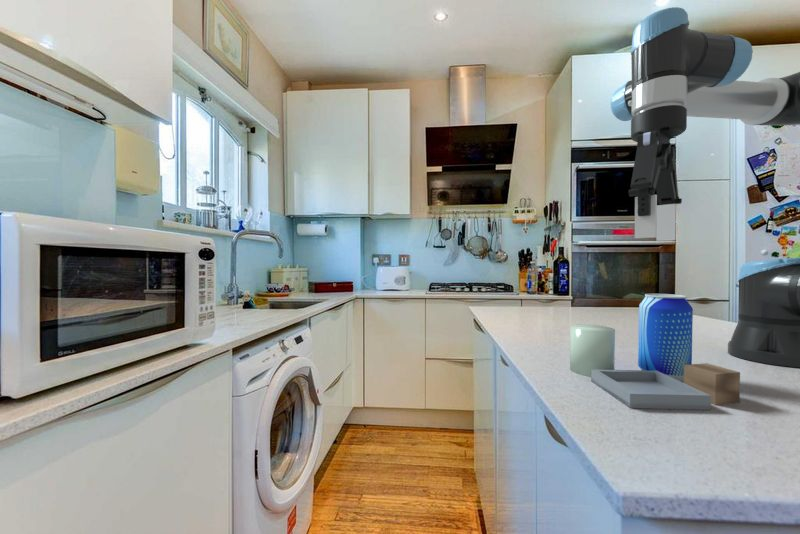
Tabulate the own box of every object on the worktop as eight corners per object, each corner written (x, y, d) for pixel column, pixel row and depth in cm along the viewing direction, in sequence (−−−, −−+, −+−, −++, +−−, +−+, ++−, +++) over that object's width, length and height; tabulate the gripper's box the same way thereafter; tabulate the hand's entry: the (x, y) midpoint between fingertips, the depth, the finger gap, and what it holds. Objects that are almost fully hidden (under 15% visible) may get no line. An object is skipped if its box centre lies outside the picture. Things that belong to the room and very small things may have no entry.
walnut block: (706, 391, 61) (706, 363, 61) (739, 403, 56) (740, 372, 56) (683, 393, 60) (683, 364, 60) (715, 405, 55) (715, 374, 55)
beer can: (672, 369, 73) (673, 293, 73) (702, 384, 65) (704, 297, 64) (629, 368, 74) (630, 292, 73) (654, 382, 65) (655, 297, 65)
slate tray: (656, 382, 65) (657, 370, 65) (710, 409, 53) (711, 395, 53) (591, 381, 66) (591, 369, 66) (629, 407, 54) (630, 393, 54)
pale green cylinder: (601, 365, 76) (601, 324, 75) (623, 378, 68) (623, 332, 67) (563, 365, 76) (564, 324, 76) (580, 377, 68) (581, 331, 68)
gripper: (650, 135, 70) (649, 242, 70) (607, 97, 53) (606, 237, 53) (699, 125, 64) (698, 240, 65) (668, 78, 47) (666, 234, 48)
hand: (656, 239), depth 59 cm, fingers open, 13 cm apart
